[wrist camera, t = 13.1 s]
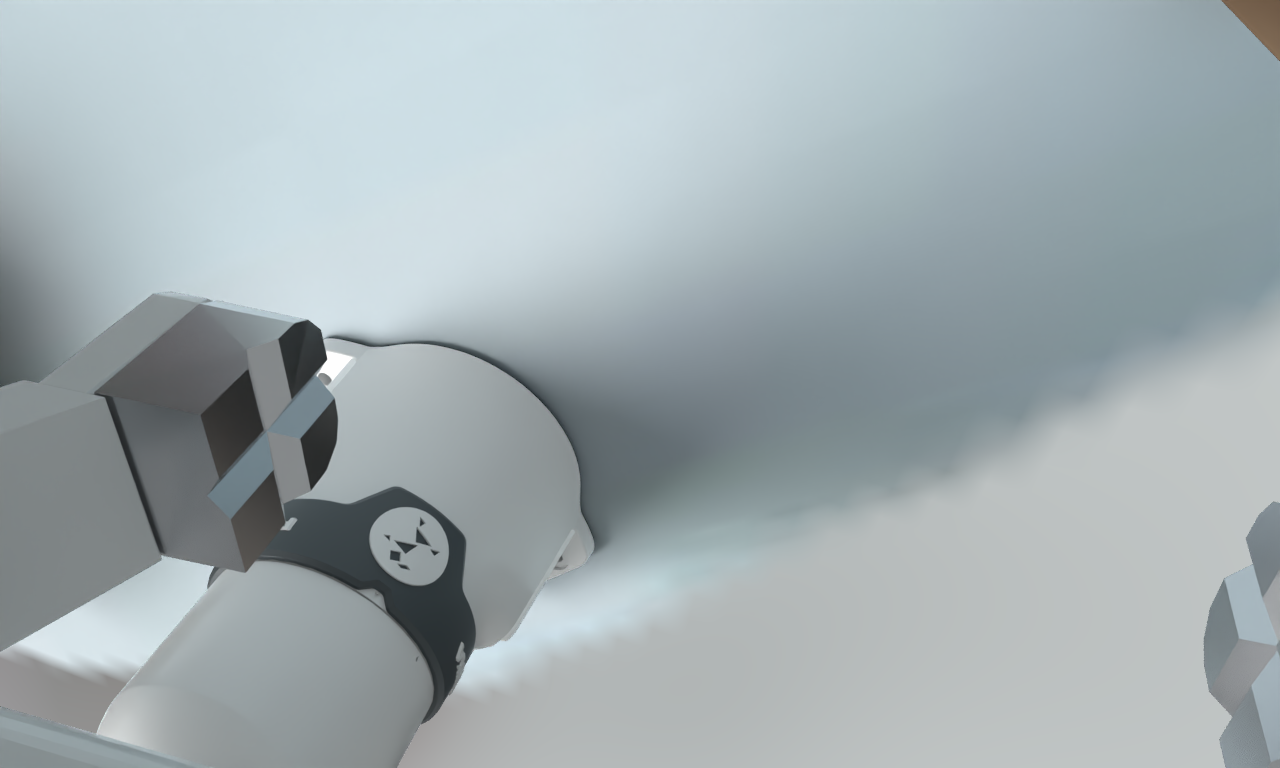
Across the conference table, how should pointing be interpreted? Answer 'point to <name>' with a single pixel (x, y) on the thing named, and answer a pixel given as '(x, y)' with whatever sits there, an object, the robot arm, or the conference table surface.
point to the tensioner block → (1260, 20)
